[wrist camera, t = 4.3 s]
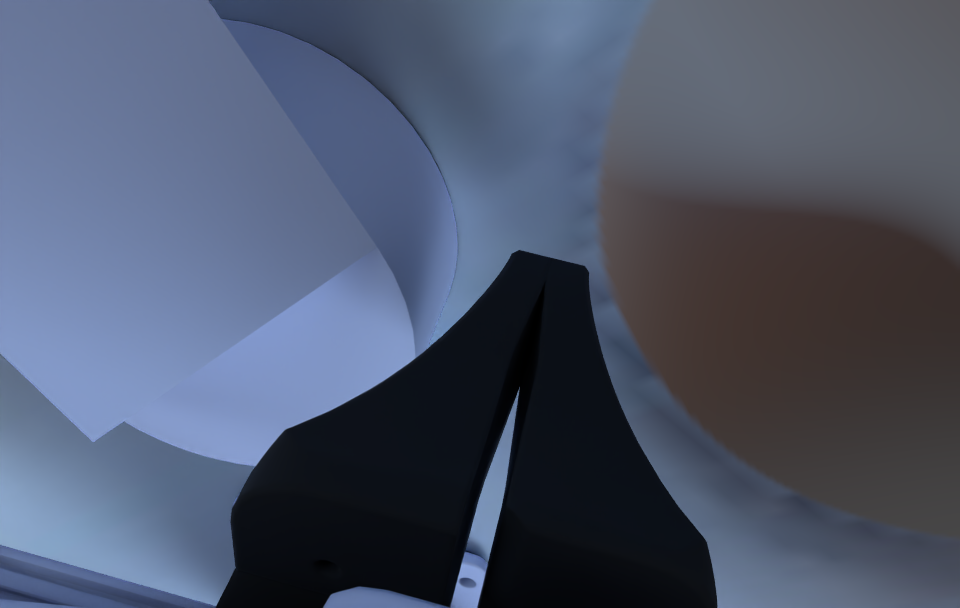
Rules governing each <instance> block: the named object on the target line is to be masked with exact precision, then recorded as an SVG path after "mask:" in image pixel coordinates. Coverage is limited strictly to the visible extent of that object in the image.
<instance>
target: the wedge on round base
mask: <svg viewBox="0 0 960 608" xmlns="http://www.w3.org/2000/svg"><path fill="white" fill-rule="evenodd" d="M457 254H458V242H457V226H456V221H455V216H454V211H453V206H452V202H451V199H450V196H449V193H448V191H447V188H446V185H445V182H444V180H443V177H442V175H441V173H440V171H439V169H438V167H437V165H436V163H435V161H434V159H433V157H432V155H431V154H430V152H429V150H428V148H427V147H426V146H425V144H424V143H423V141H422V140H421V138H420V137H419V135H418V134H417V133H416V131H415V130H414V128H413V127H412V125H411V124H410V123H409V122H408V121H407V120H406V119H405V117H404V116H403V115H402V114H401V113H400V112H399V111H398V109H397V108H396V107H395V106H394V105H393V104H392V103H391V101H389V100H388V99H387V98H386V97H385V96H384V95H383V94H382V93H381V92H379V91H378V90H377V89H376V88H375V87H374V86H373V85H372V84H371V83H369V82H368V81H367V80H366V79H365V78H363V77H362V76H361V75H359V74H358V73H356V72H355V71H354V70H352V69H351V68H349V67H348V66H347V65H345V64H344V63H342V62H341V61H340V60H338V59H336V58H335V57H333V56H331V55H329V54H327V53H325V52H324V51H322V50H320V49H318V48H316V47H315V46H313V45H311V44H309V43H307V42H304V41H302V40H300V39H297V38H295V37H292V36H290V35H287V34H285V33H282V32H280V31H277V30H273V29H270V28H266V27H262V26H259V25H255V24H251V23H247V22H240V21H232V20H225V19H221V18H220V17H219V15H218V14H217V12H216V11H215V9H214V8H213V6H212V5H211V4H210V2H209V1H208V0H0V354H1V355H2V356H3V357H4V358H5V359H6V360H8V361H9V362H10V363H11V364H12V365H13V366H14V367H15V368H16V369H17V370H18V371H19V372H20V373H21V374H22V375H23V376H24V377H25V378H26V379H27V380H28V381H29V382H31V383H32V384H33V385H34V386H35V387H36V388H37V389H38V390H39V391H40V392H41V393H42V394H43V395H44V396H45V397H46V398H47V399H48V400H49V401H50V402H51V403H52V404H54V405H55V406H56V407H57V408H58V409H59V410H60V411H61V412H62V413H63V414H64V415H65V416H66V417H67V418H68V419H69V420H70V421H71V422H72V423H73V424H74V425H75V426H77V427H78V428H79V429H80V430H81V431H82V432H83V433H84V434H85V435H86V436H87V437H88V438H89V439H90V440H91V441H92V442H95V441H96V440H97V439H99V438H100V437H102V436H103V435H105V434H106V433H108V432H109V431H111V430H112V429H113V428H115V427H116V426H118V425H119V424H121V423H122V422H125V423H127V424H129V425H131V426H132V427H134V428H136V429H138V430H140V431H142V432H144V433H146V434H148V435H150V436H153V437H155V438H157V439H159V440H161V441H163V442H166V443H168V444H171V445H174V446H176V447H179V448H181V449H184V450H186V451H189V452H193V453H196V454H199V455H203V456H206V457H209V458H213V459H217V460H222V461H227V462H231V463H236V464H242V465H251V466H256V465H257V464H258V462H259V461H260V460H261V458H262V457H263V455H264V454H265V453H266V452H267V450H268V449H269V448H270V446H271V445H272V444H273V443H274V442H275V441H276V439H277V438H278V437H279V436H280V435H281V434H282V432H283V431H284V430H285V429H288V428H290V427H293V426H295V425H298V424H300V423H302V422H305V421H307V420H309V419H312V418H314V417H316V416H319V415H321V414H324V413H326V412H328V411H330V410H332V409H334V408H336V407H338V406H340V405H342V404H344V403H345V402H347V401H349V400H351V399H353V398H355V397H356V396H358V395H360V394H362V393H364V392H366V391H367V390H369V389H371V388H373V387H374V386H376V385H378V384H379V383H381V382H382V381H384V380H385V379H387V378H388V377H390V376H391V375H393V374H394V373H396V372H397V371H399V370H400V369H401V368H403V367H404V366H406V365H407V364H409V363H410V362H411V361H413V360H414V359H415V358H416V357H418V356H419V355H420V354H422V353H423V352H424V351H425V350H427V348H428V345H429V342H430V340H431V337H432V335H433V332H434V330H435V327H436V325H437V322H438V320H439V317H440V315H441V312H442V310H443V307H444V305H445V302H446V300H447V297H448V294H449V292H450V288H451V285H452V282H453V278H454V275H455V271H456V262H457Z"/></svg>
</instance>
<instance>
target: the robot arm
mask: <svg viewBox="0 0 960 608" xmlns="http://www.w3.org/2000/svg"><path fill="white" fill-rule="evenodd" d="M519 387H520V390H519ZM518 390H519V397H518V404H517V411H516V418H515V425H514V432H513V439H512V446H511V453H510V460H509V467H508V474H507V481H506V487H505V493H504V498H503V503H502V508H501V512H500V516H499V520H498V524H497V528H496V533H495V537H494V541H493V545H492V549H491V553H490V557H489V561H488V564H487V563H486V561H485V560H484V559H483V558H481V557H480V556H477V555H475V554H472V553H468V552H465V549H466V546H467V542H468V538H469V534H470V530H471V527H472V523H473V519H474V515H475V511H476V508H477V504H478V500H479V497H480V494H481V491H482V488H483V485H484V482H485V479H486V476H487V473H488V471H489V468H490V465H491V462H492V460H493V457H494V454H495V452H496V449H497V446H498V444H499V441H500V438H501V436H502V433H503V430H504V428H505V425H506V422H507V420H508V417H509V414H510V412H511V409H512V406H513V404H514V401H515V398H516V395H517V393H518ZM231 530H232V540H233V549H234V558H235V567H236V568H235V570H234V572H233V574H232V576H231V578H230V580H229V582H228V584H227V586H226V588H225V590H224V592H223V594H222V596H221V598H220V600H219V602H218V604H217V606H213V605H210V604H206V603H203V602H199V601H196V600H192V599H189V598H185V597H182V596H178V595H175V594H171V593H168V592H164V591H161V590H157V589H153V588H150V587H146V586H143V585H139V584H136V583H132V582H129V581H125V580H122V579H118V578H115V577H111V576H108V575H104V574H101V573H97V572H94V571H90V570H87V569H83V568H80V567H76V566H73V565H69V564H66V563H62V562H59V561H55V560H52V559H48V558H45V557H41V556H38V555H34V554H30V553H27V552H23V551H20V550H16V549H13V548H9V547H6V546H2V545H0V608H717V595H716V587H715V580H714V574H713V568H712V563H711V559H710V554H709V550H708V546H707V542H706V540H705V539H704V538H703V536H702V535H701V534H700V533H699V531H698V530H697V529H696V528H695V526H694V525H693V524H692V523H691V522H690V520H689V519H688V518H687V517H686V515H685V514H684V513H683V512H682V510H681V509H680V508H679V507H678V505H677V504H676V503H675V501H674V500H673V498H672V497H671V495H670V494H669V492H668V491H667V489H666V488H665V487H664V485H663V484H662V482H661V481H660V479H659V477H658V475H657V474H656V472H655V470H654V469H653V467H652V465H651V464H650V462H649V460H648V459H647V457H646V455H645V454H644V452H643V450H642V448H641V447H640V445H639V443H638V441H637V439H636V437H635V435H634V433H633V431H632V429H631V427H630V425H629V423H628V421H627V419H626V417H625V414H624V412H623V410H622V408H621V405H620V403H619V400H618V398H617V396H616V393H615V390H614V388H613V385H612V382H611V379H610V376H609V373H608V370H607V367H606V364H605V361H604V358H603V354H602V351H601V347H600V343H599V339H598V335H597V331H596V327H595V323H594V318H593V312H592V307H591V300H590V292H589V272H588V270H587V269H586V267H585V266H583V265H578V264H574V263H570V262H566V261H562V260H558V259H554V258H550V257H546V256H541V255H537V254H533V253H529V252H525V251H521V250H518V251H516V252H514V253H512V254H511V256H510V258H509V260H508V262H507V263H506V265H505V267H504V268H503V270H502V271H501V272H500V274H499V275H498V276H497V278H496V279H495V280H494V282H493V283H492V284H491V285H490V287H489V288H488V289H487V290H486V292H485V293H484V294H483V295H482V296H481V297H480V298H479V299H478V300H477V302H476V303H475V304H474V305H473V306H472V307H471V308H470V309H469V310H468V312H467V313H466V314H465V315H464V316H463V317H462V318H461V319H460V320H458V321H457V322H456V323H455V324H454V325H453V326H452V327H451V328H450V329H449V330H448V331H447V332H446V333H445V334H444V335H443V336H442V337H441V338H439V339H438V340H437V341H436V342H435V343H434V344H432V345H431V346H430V347H429V348H428V349H427V350H425V351H424V352H423V353H422V354H420V355H419V356H418V357H416V358H415V359H414V360H413V361H411V362H410V363H409V364H407V365H406V366H404V367H403V368H401V369H400V370H399V371H397V372H396V373H394V374H393V375H391V376H390V377H388V378H387V379H385V380H384V381H382V382H381V383H379V384H378V385H376V386H374V387H373V388H371V389H369V390H367V391H366V392H364V393H362V394H360V395H358V396H356V397H355V398H353V399H351V400H349V401H347V402H345V403H344V404H342V405H340V406H338V407H336V408H334V409H332V410H330V411H328V412H326V413H324V414H321V415H319V416H316V417H314V418H312V419H309V420H307V421H305V422H302V423H300V424H298V425H295V426H293V427H290V428H288V429H285V430H284V431H283V432H282V434H281V435H280V436H279V437H278V438H277V439H276V441H275V442H274V443H273V444H272V445H271V446H270V448H269V449H268V450H267V452H266V453H265V454H264V455H263V457H262V458H261V460H260V461H259V462H258V464H257V465H256V466H255V468H254V469H253V471H252V472H251V474H250V476H249V477H248V479H247V481H246V483H245V485H244V487H243V488H242V490H241V492H240V494H239V495H238V496H237V498H236V500H235V501H234V503H233V506H232V513H231Z"/></svg>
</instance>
